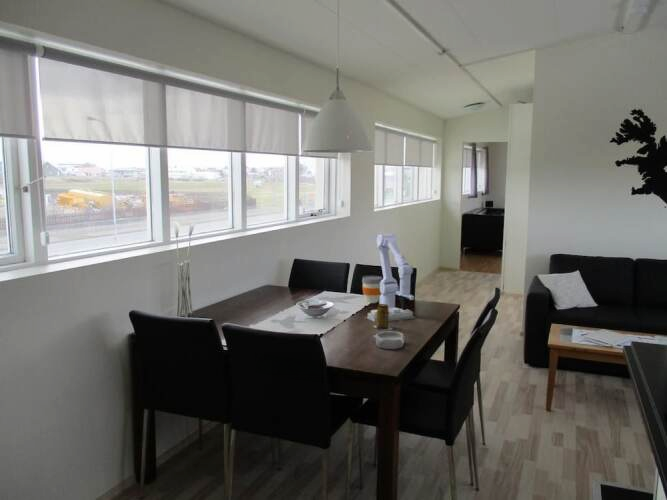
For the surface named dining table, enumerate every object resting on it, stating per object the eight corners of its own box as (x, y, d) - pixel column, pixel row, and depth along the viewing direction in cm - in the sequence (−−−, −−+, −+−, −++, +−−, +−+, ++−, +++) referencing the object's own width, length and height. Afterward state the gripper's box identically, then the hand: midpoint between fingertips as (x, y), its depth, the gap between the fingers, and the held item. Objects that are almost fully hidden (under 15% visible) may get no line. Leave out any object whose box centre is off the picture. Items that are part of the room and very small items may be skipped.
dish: (402, 340, 261) (402, 330, 260) (407, 350, 247) (407, 339, 246) (372, 340, 260) (372, 330, 260) (375, 350, 247) (375, 339, 246)
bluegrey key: (389, 313, 303) (389, 308, 302) (396, 312, 305) (396, 307, 304) (393, 315, 299) (393, 310, 298) (400, 314, 301) (400, 309, 300)
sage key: (370, 315, 297) (370, 310, 297) (377, 314, 299) (377, 309, 299) (374, 317, 293) (375, 312, 293) (381, 316, 295) (382, 311, 295)
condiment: (384, 325, 287) (385, 302, 285) (393, 329, 279) (394, 306, 277) (372, 326, 283) (373, 304, 282) (381, 331, 276) (381, 307, 274)
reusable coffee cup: (385, 300, 340) (386, 277, 338) (375, 304, 329) (376, 280, 327) (367, 298, 346) (368, 274, 344) (357, 301, 336) (358, 277, 334)
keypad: (364, 317, 300) (364, 312, 300) (403, 312, 312) (404, 307, 311) (375, 323, 290) (375, 317, 289) (416, 317, 301) (416, 312, 301)
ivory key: (398, 314, 306) (398, 309, 305) (404, 313, 307) (405, 308, 307) (402, 316, 302) (403, 310, 301) (409, 315, 304) (409, 310, 303)
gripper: (391, 283, 307) (391, 307, 309) (406, 289, 294) (405, 313, 296) (402, 283, 310) (401, 306, 312) (417, 288, 297) (416, 312, 299)
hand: (404, 309), depth 304 cm, fingers closed, pressing on ivory key
